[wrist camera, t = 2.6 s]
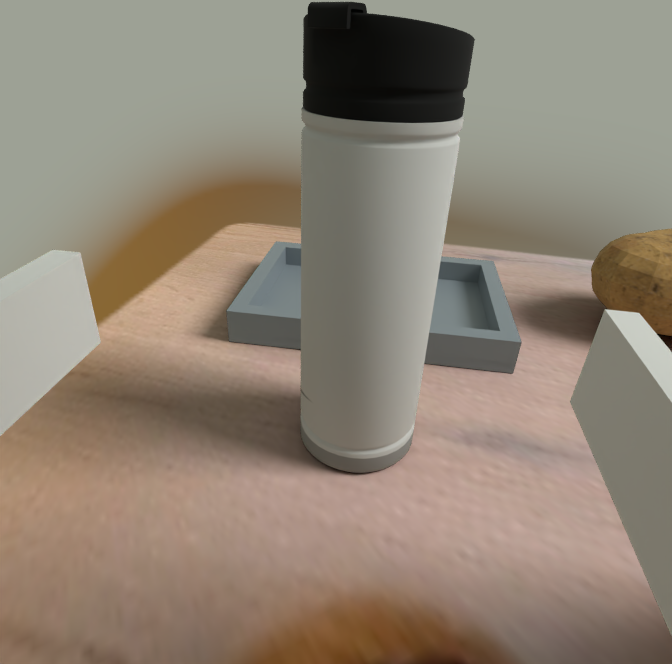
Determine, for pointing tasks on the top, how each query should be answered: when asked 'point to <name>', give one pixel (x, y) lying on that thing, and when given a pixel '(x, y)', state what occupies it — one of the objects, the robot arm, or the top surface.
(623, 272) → the potato
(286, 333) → the tray
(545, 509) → the top surface
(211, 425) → the top surface
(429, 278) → the travel mug
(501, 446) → the top surface
